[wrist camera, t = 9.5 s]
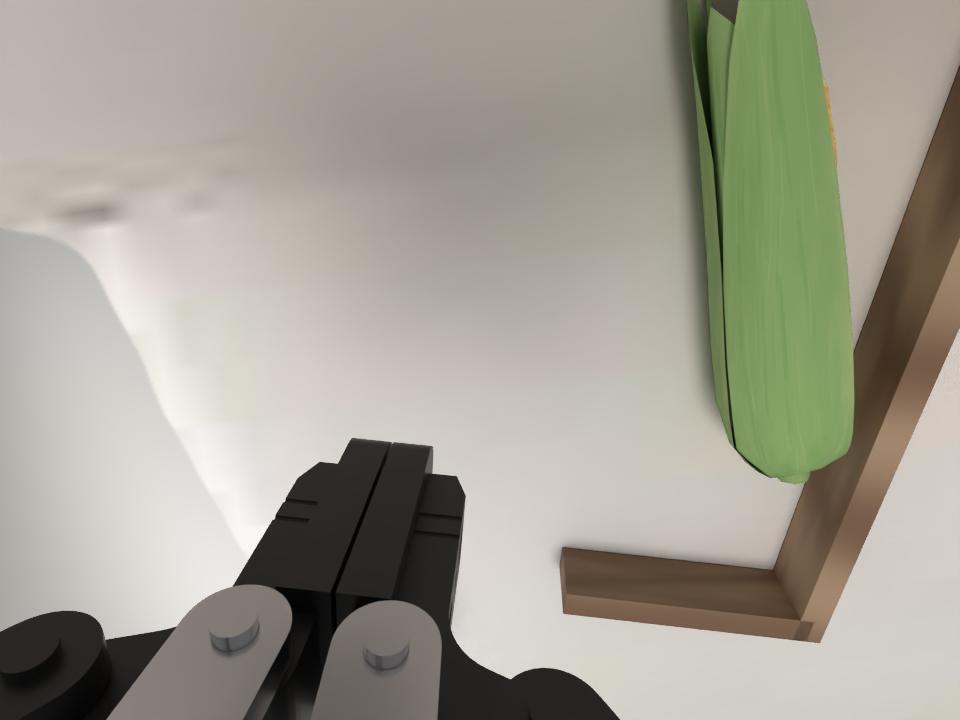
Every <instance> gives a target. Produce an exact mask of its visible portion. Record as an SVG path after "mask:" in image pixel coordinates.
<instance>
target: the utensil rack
mask: <svg viewBox="0 0 960 720" xmlns="http://www.w3.org/2000/svg"><path fill="white" fill-rule="evenodd" d="M959 328H960V67H959V70H958V73H957V75H956V78H955V81H954V83H953V86H952V89H951V92H950V94H949V97H948V100H947V102H946V105H945V108H944V111H943V113H942V116H941V119H940V121H939V124H938V127H937V129H936V132H935V135H934V138H933V140H932V143H931V146H930V148H929V151H928V154H927V156H926V159H925V162H924V165H923V167H922V170H921V173H920V175H919V178H918V181H917V184H916V186H915V189H914V192H913V194H912V197H911V200H910V202H909V205H908V208H907V211H906V213H905V216H904V219H903V221H902V224H901V227H900V229H899V232H898V235H897V238H896V240H895V243H894V246H893V248H892V251H891V254H890V257H889V259H888V262H887V265H886V267H885V270H884V273H883V275H882V278H881V281H880V284H879V286H878V289H877V292H876V294H875V297H874V300H873V302H872V305H871V308H870V311H869V313H868V316H867V319H866V321H865V324H864V327H863V330H862V332H861V335H860V338H859V340H858V343H857V346H856V348H855V351H854V354H853V363H854V420H853V434H852V440H851V445H850V448H849V449H848V451H847V453H846V454H845V455H843V456H841V457H840V458H838V459H837V460H835V461H833V462H831V463H830V464H828V465H826V466H825V467H823V468H821V469H818V470H814V471H810V477H809V478H808V480H807V482H806V484H805V486H804V489H803V492H802V494H801V497H800V500H799V503H798V505H797V508H796V511H795V513H794V516H793V519H792V521H791V524H790V527H789V530H788V532H787V535H786V538H785V540H784V543H783V546H782V548H781V551H780V554H779V557H778V559H777V562H776V565H775V567H774V570H773V571H771V570H761V569H752V568H743V567H734V566H725V565H716V564H707V563H698V562H689V561H680V560H671V559H661V558H652V557H643V556H634V555H625V554H616V553H607V552H598V551H589V550H580V549H571V548H563V549H562V555H561V560H560V578H561V591H562V604H563V614H571V615H579V616H588V617H597V618H605V619H614V620H623V621H632V622H640V623H649V624H658V625H667V626H675V627H684V628H693V629H701V630H710V631H719V632H728V633H736V634H745V635H754V636H763V637H771V638H780V639H789V640H797V641H806V642H815V643H820V642H821V639H822V637H823V635H824V633H825V630H826V628H827V626H828V623H829V621H830V619H831V617H832V614H833V612H834V610H835V608H836V605H837V603H838V601H839V599H840V596H841V594H842V592H843V590H844V587H845V585H846V583H847V581H848V578H849V576H850V574H851V572H852V569H853V567H854V565H855V563H856V560H857V558H858V556H859V554H860V551H861V549H862V547H863V545H864V542H865V540H866V538H867V535H868V533H869V531H870V529H871V526H872V524H873V522H874V520H875V517H876V515H877V513H878V511H879V508H880V506H881V504H882V502H883V499H884V497H885V495H886V493H887V490H888V488H889V486H890V484H891V481H892V479H893V477H894V475H895V472H896V470H897V468H898V466H899V463H900V461H901V459H902V457H903V454H904V452H905V450H906V447H907V445H908V443H909V441H910V438H911V436H912V434H913V432H914V429H915V427H916V425H917V423H918V420H919V418H920V416H921V414H922V411H923V409H924V407H925V405H926V402H927V400H928V398H929V396H930V393H931V391H932V389H933V387H934V384H935V382H936V380H937V378H938V375H939V373H940V371H941V369H942V366H943V364H944V362H945V359H946V357H947V355H948V353H949V350H950V348H951V346H952V344H953V341H954V339H955V337H956V335H957V332H958V330H959Z"/></svg>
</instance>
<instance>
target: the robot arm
mask: <svg viewBox="0 0 960 720" xmlns="http://www.w3.org/2000/svg"><path fill="white" fill-rule="evenodd" d="M432 468H433V446H425V445H415V444H406V443H396V442H394V443H393V444H392V442H385V441H376V440H366V439H357V438H352V439H351V440H350V442H349V443H348V445H347V447H346V449H345V451H344V453H343V455H342V457H341V459H340V461H339V463H338V464H334V463H325V462H319V463H318V464H316V465H315V466H313V467H312V468H311V469H309V470H308V471H307V472H305V473H304V474H303V475H301V476H300V477H299V478H298V479H297V480H296V482H295V484H294V485H293V487H292V489H291V490H290V492H289V494H288V495H287V497H286V501H285V502H283V504H282V505H281V507H280V509H279V510H278V512H277V514H276V517H275V520H272V522H271V524H270V525H269V527H268V529H267V530H266V532H265V534H264V535H263V537H262V539H261V540H260V542H259V544H258V545H257V547H256V549H255V550H254V552H253V554H252V555H251V557H250V559H249V560H248V562H247V564H246V565H245V567H244V569H243V570H242V572H241V574H240V575H239V577H238V579H237V580H236V582H235V584H234V585H233V587H230V588H227V589H224V590H221V591H219V592H216V593H214V594H212V595H210V596H208V597H207V598H205V599H204V600H202V601H201V602H199V603H198V604H197V605H196V606H194V607H193V608H192V609H191V610H190V611H189V612H188V613H187V614H186V616H185V617H184V618H183V619H182V620H181V622H180V623H179V624H178V626H177V627H174V628H170V629H167V630H161V631H156V632H150V633H144V634H138V635H132V636H126V637H120V638H114V639H108V640H105V637H104V633H103V630H102V627H101V625H100V624H99V622H98V621H97V620H96V619H95V618H93V617H92V616H90V615H88V614H85V613H82V612H77V611H59V612H52V613H47V614H43V615H39V616H36V617H33V618H30V619H27V620H25V621H23V622H21V623H18V624H16V625H14V626H11V627H9V628H7V629H5V630H3V631H1V632H0V720H620V719H619V718H618V717H617V716H616V714H615V713H614V712H613V711H612V710H611V709H610V707H609V706H608V705H607V704H606V703H605V702H604V701H603V699H602V698H601V697H600V696H599V695H598V694H597V693H596V692H595V691H594V690H593V689H592V688H591V687H590V686H589V685H588V684H586V683H585V682H584V681H583V680H581V679H579V678H578V677H576V676H574V675H572V674H570V673H567V672H565V671H561V670H557V669H552V668H537V669H531V670H528V671H524V672H522V673H520V674H518V675H516V676H515V677H514V678H512V679H511V680H510V679H508V678H506V677H504V676H502V675H499V674H497V673H495V672H493V671H491V670H488V669H486V668H485V667H483V666H481V665H479V664H477V663H476V662H475V661H473V660H472V659H471V658H469V657H468V656H467V655H466V654H465V653H464V652H463V651H462V649H461V648H460V647H459V645H458V644H457V642H456V640H455V639H454V637H453V635H452V631H451V624H452V616H453V609H454V601H455V594H456V586H457V579H458V572H459V564H460V555H461V544H462V532H463V520H464V508H465V497H466V496H465V493H464V491H463V489H462V487H461V485H460V482H459V480H458V478H457V476H448V475H439V474H432Z"/></svg>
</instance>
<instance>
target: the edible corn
mask: <svg viewBox="0 0 960 720" xmlns="http://www.w3.org/2000/svg"><path fill="white" fill-rule="evenodd" d="M706 9H707V26H708V33H707V36H706V32H705V28H704V23H703V19H702V15H701V11H700V6H699V2H698V0H687V13H688V26H689V39H690V48H691V56H692V65H693V77H694V88H695V100H696V112H697V126H698V140H699V154H700V169H701V183H702V197H703V211H704V226H705V240H706V254H707V275H708V296H709V317H710V339H711V352H712V363H713V374H714V385H715V395H716V402H717V405H718V408H719V411H720V414H721V417H722V420H723V424H724V427H725V430H726V433H727V436H728V440H729V442H730V444H731V445H732V446H733V447H734V449H735V450H736V451H737V452H738V454H739V455H740V456H741V457H742V459H743V460H744V461H745V462H746V463H748V464H749V465H750V466H751V467H753V468H754V469H755V470H756V471H758V472H759V473H761V474H763V475H765V476H767V477H769V478H778V479H779V480H780V481H782V482H786V483H791V484H798V483H803V482H807V480H808V478H809V477H810V471H814V470H818V469H821V468H823V467H825V466H826V465H828V464H830V463H831V462H833V461H835V460H837V459H838V458H840V457H841V456H843V455H845V454H846V453H847V451H848V449H849V448H850V445H851V440H852V434H853V420H854V363H853V338H852V324H851V310H850V295H849V281H848V267H847V258H846V249H845V240H844V231H843V223H842V214H841V205H840V197H839V188H838V179H837V158H836V146H835V138H834V131H833V124H832V117H831V109H830V102H829V95H828V87H827V85H826V83H825V81H824V78H823V76H822V72H821V66H820V60H819V54H818V47H817V41H816V37H815V33H814V29H813V25H812V21H811V17H810V14H809V10H808V6H807V2H806V0H738V8H737V15H736V21H735V24H733V23H732V22H731V21H729V20H728V19H727V18H725V17H724V16H723V15H721V14H720V13H719V12H717V11H716V10H715V9H713V7H712V0H706Z"/></svg>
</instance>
